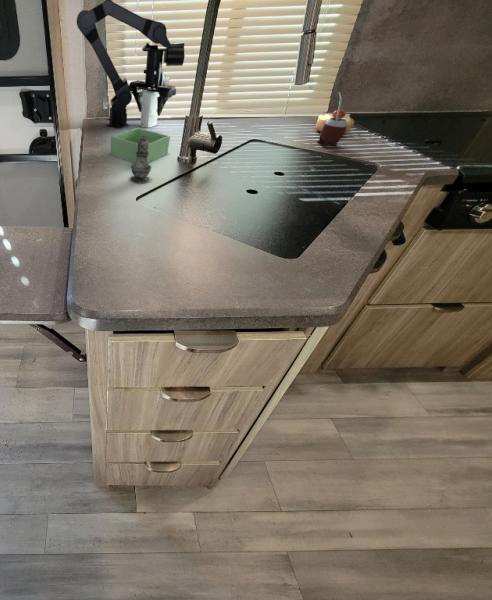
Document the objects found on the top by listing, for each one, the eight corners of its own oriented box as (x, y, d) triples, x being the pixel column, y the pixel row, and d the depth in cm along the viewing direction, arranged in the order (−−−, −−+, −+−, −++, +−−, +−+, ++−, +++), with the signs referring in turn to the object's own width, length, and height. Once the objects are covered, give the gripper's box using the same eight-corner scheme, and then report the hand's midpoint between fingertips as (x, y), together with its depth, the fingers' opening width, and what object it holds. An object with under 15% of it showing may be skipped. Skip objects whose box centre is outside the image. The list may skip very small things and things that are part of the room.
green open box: (110, 154, 109) (110, 136, 105) (135, 144, 116) (137, 127, 112) (142, 165, 102) (144, 146, 98) (167, 154, 109) (170, 136, 106)
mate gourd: (333, 149, 112) (356, 99, 102) (309, 143, 117) (330, 95, 106) (341, 144, 116) (365, 95, 106) (318, 139, 120) (339, 91, 110)
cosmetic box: (147, 128, 131) (151, 93, 123) (139, 125, 133) (142, 91, 125) (157, 125, 134) (161, 90, 126) (149, 122, 136) (152, 88, 128)
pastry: (311, 133, 125) (322, 107, 119) (315, 126, 132) (325, 100, 126) (347, 139, 120) (360, 111, 114) (349, 130, 128) (361, 104, 122)
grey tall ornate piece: (126, 177, 95) (129, 133, 87) (143, 174, 97) (148, 130, 89) (135, 185, 91) (139, 139, 83) (154, 181, 93) (159, 136, 85)
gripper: (187, 66, 120) (180, 113, 130) (147, 61, 129) (143, 106, 140) (170, 70, 114) (164, 119, 124) (129, 64, 123) (126, 111, 134)
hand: (149, 113), depth 131 cm, fingers open, 9 cm apart
